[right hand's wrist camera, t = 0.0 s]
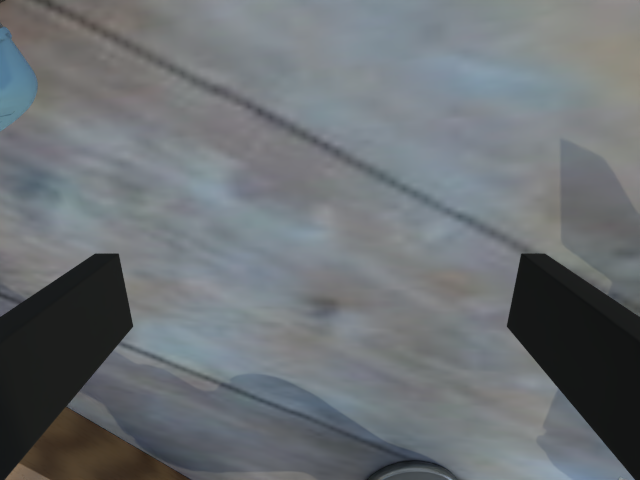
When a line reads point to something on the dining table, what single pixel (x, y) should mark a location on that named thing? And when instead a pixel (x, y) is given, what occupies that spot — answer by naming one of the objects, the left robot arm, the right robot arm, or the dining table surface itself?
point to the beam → (87, 455)
